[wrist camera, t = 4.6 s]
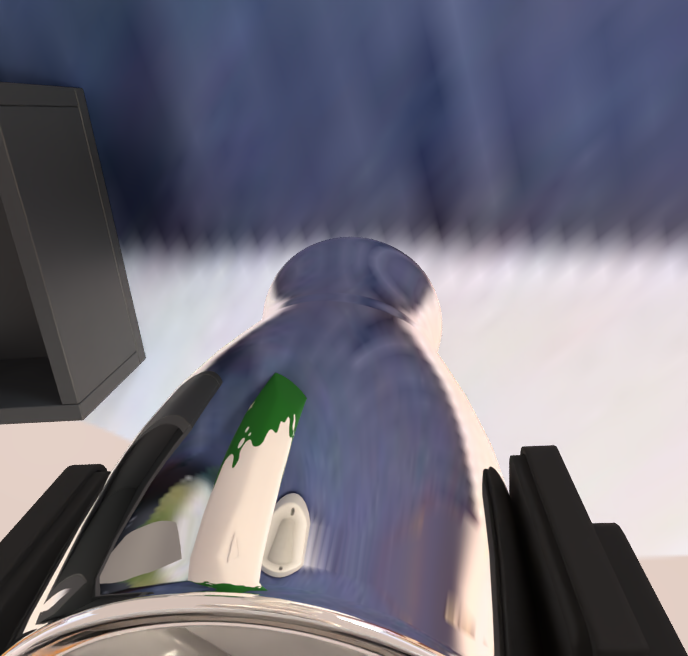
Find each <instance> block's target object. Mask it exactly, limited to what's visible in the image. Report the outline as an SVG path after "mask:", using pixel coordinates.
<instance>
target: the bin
mask: <svg viewBox="0 0 688 656" xmlns="http://www.w3.org/2000/svg"><path fill="white" fill-rule="evenodd" d="M145 358H146V357H145V353H144V348H143V344H142V340H141V335H140V331H139V327H138V323H137V318H136V314H135V310H134V306H133V301H132V297H131V293H130V288H129V284H128V280H127V276H126V271H125V267H124V263H123V259H122V254H121V250H120V246H119V241H118V237H117V233H116V229H115V224H114V220H113V216H112V212H111V207H110V203H109V199H108V194H107V190H106V186H105V182H104V177H103V173H102V169H101V165H100V160H99V156H98V152H97V147H96V143H95V139H94V135H93V130H92V126H91V122H90V118H89V113H88V109H87V105H86V100H85V96H84V92H83V89H82V88H73V87H61V86H48V85H35V84H22V83H9V82H0V424H18V423H37V422H55V421H76V420H84V419H85V418H86V417H87V416H88V415H89V414H90V413H91V412H92V411H93V410H94V409H95V408H96V407H97V406H98V405H99V404H100V403H101V402H102V401H103V400H104V399H105V398H106V397H107V396H108V395H109V394H110V393H111V392H112V391H113V390H114V389H115V388H116V387H117V386H118V385H119V384H120V383H121V382H122V381H124V380H125V379H126V378H127V377H128V376H129V375H130V374H131V373H132V372H133V371H134V370H135V369H136V368H137V367H138V366H139V364H141V363H142V362H143V361H144V360H145Z"/></svg>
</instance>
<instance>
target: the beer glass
mask: <svg viewBox="0 0 688 656" xmlns="http://www.w3.org/2000/svg"><path fill="white" fill-rule="evenodd" d="M441 336H442V313H441V308H440V303H439V300H438V297H437V294H436V292H435V289H434V287H433V285H432V283H431V281H430V280H429V278H428V277H427V275H426V274H425V272H424V271H423V270H422V269H421V268H420V267H419V265H418V264H417V263H415V262H414V261H413V260H412V259H411V258H410V257H408V256H407V255H406V254H404V253H403V252H401V251H400V250H398V249H396V248H394V247H392V246H390V245H388V244H385V243H383V242H380V241H377V240H373V239H368V238H361V237H340V238H333V239H328V240H325V241H321V242H318V243H316V244H313V245H311V246H309V247H307V248H305V249H303V250H302V251H300V252H299V253H297V254H296V255H295V256H293V257H292V258H291V259H290V260H289V261H288V262H287V263H286V264H285V265H284V266H283V267H282V268H281V269H280V271H279V272H278V273H277V275H276V276H275V278H274V280H273V282H272V284H271V286H270V288H269V291H268V293H267V296H266V300H265V303H264V309H263V316H262V320H260V321H259V322H258V323H256V324H255V325H253V326H252V327H250V328H249V329H247V330H246V331H245V332H243V333H242V334H240V335H239V336H238V337H236V338H235V339H233V340H232V341H231V342H229V343H228V344H226V345H225V346H224V347H222V348H221V349H220V350H218V351H217V352H216V353H215V354H214V355H213V356H211V357H210V358H209V359H208V360H207V361H206V362H205V363H203V364H202V365H201V366H200V367H199V368H198V369H197V370H196V371H194V372H193V373H192V374H191V375H190V376H189V377H188V378H186V379H185V380H184V381H183V382H182V383H181V384H180V385H179V386H178V387H177V388H176V389H175V390H174V391H173V393H172V394H171V395H170V396H169V397H168V398H167V400H166V401H165V402H164V403H163V404H162V406H161V407H160V408H159V409H158V410H157V412H156V413H155V414H154V415H153V416H152V417H151V419H150V420H149V421H148V422H147V423H146V425H145V426H144V427H143V428H142V429H141V431H140V432H139V433H138V434H137V436H136V437H135V438H134V439H133V441H132V442H131V444H130V445H129V447H128V448H127V450H126V451H125V452H124V454H123V455H122V457H121V458H120V460H119V461H118V462H117V464H116V465H115V467H114V468H113V470H112V471H111V472H110V474H109V475H108V477H107V478H106V480H105V481H104V483H103V484H102V485H101V487H100V488H99V490H98V491H97V493H96V494H95V495H94V497H93V499H92V500H91V502H90V504H89V505H88V507H87V508H86V510H85V512H84V513H83V515H82V517H81V518H80V520H79V521H78V523H77V525H76V526H75V528H74V529H73V531H72V533H71V534H70V536H69V538H68V539H67V541H66V542H65V544H64V546H63V547H62V549H61V551H60V552H59V554H58V556H57V557H56V559H55V561H54V562H53V564H52V566H51V567H50V569H49V571H48V573H47V574H46V576H45V578H44V579H43V581H42V583H41V585H40V586H39V588H38V590H37V591H36V593H35V595H34V596H33V598H32V600H31V602H30V603H29V605H28V607H27V608H26V610H25V612H24V613H23V615H22V617H21V618H20V620H19V622H18V623H17V625H16V627H15V628H14V630H13V631H12V633H11V635H10V636H9V638H8V640H7V641H6V643H5V644H4V646H3V648H2V649H1V651H0V656H545V653H544V647H543V642H542V637H541V631H540V626H539V621H538V615H537V610H536V604H535V599H534V594H533V588H532V583H531V578H530V574H529V569H528V565H527V561H526V557H525V553H524V549H523V545H522V540H521V536H520V532H519V528H518V524H517V520H516V516H515V512H514V508H513V505H512V502H511V499H510V496H509V493H508V490H507V487H506V484H505V481H504V478H503V476H502V473H501V470H500V467H499V464H498V461H497V458H496V455H495V452H494V450H493V447H492V445H491V443H490V441H489V438H488V437H487V435H486V433H485V431H484V429H483V427H482V425H481V423H480V421H479V419H478V417H477V415H476V413H475V411H474V410H473V408H472V406H471V404H470V402H469V400H468V398H467V396H466V395H465V393H464V391H463V390H462V388H461V387H460V385H459V384H458V382H457V381H456V379H455V378H454V376H453V375H452V373H451V372H450V370H449V369H448V367H447V366H446V364H445V363H444V361H443V360H442V358H441V357H440V355H439V354H438V350H439V346H440V342H441Z"/></svg>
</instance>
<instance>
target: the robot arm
mask: <svg viewBox="0 0 688 656" xmlns="http://www.w3.org/2000/svg"><path fill="white" fill-rule="evenodd" d="M109 474H110V471H107V469H106V468H105V467H104V465H101V464H91V465H90V464H88V465H72V466H69V467H67V468H66V469H65V470H64V471H63V472H62V474H61V475H60V476H59V477H58V478H57V479H56V480H55V482H54V483H53V484H52V485H51V486H50V487H49V488H48V489H47V491H46V492H45V493H44V494H43V495H42V496H41V497H40V498H39V499H38V501H37V502H36V503H35V504H34V505H33V506H32V507H31V509H30V510H29V511H28V512H27V513H26V514H25V515H24V516H23V517H22V519H21V520H20V521H19V522H18V523H17V524H16V525H15V526H14V528H13V529H12V530H11V531H10V532H9V533H8V534H7V535H6V537H5V538H4V539H3V540H2V541H1V542H0V651H1V649H2V648H3V646H4V644H5V643H6V641H7V640H8V638H9V636H10V635H11V633H12V631H13V630H14V628H15V627H16V625H17V623H18V622H19V620H20V618H21V617H22V615H23V613H24V612H25V610H26V608H27V607H28V605H29V603H30V602H31V600H32V598H33V596H34V595H35V593H36V591H37V590H38V588H39V586H40V585H41V583H42V581H43V579H44V578H45V576H46V574H47V573H48V571H49V569H50V567H51V566H52V564H53V562H54V561H55V559H56V557H57V556H58V554H59V552H60V551H61V549H62V547H63V546H64V544H65V542H66V541H67V539H68V538H69V536H70V534H71V533H72V531H73V529H74V528H75V526H76V525H77V523H78V521H79V520H80V518H81V517H82V515H83V513H84V512H85V510H86V508H87V507H88V505H89V504H90V502H91V500H92V499H93V497H94V495H95V494H96V493H97V491H98V490H99V488H100V487H101V485H102V484H103V483H104V481H105V480H106V478H107V477H108V475H109ZM509 496H510V499H511V502H512V505H513V508H514V512H515V516H516V520H517V524H518V528H519V532H520V536H521V540H522V545H523V549H524V553H525V557H526V561H527V565H528V569H529V574H530V578H531V583H532V588H533V594H534V599H535V604H536V610H537V615H538V621H539V626H540V631H541V637H542V642H543V647H544V653H545V656H688V655H687V653H686V651H685V649H684V647H683V645H682V643H681V642H680V640H679V638H678V636H677V634H676V632H675V630H674V628H673V626H672V624H671V622H670V621H669V618H668V616H667V615H666V613H665V611H664V609H663V607H662V605H661V603H660V601H659V599H658V597H657V595H656V594H655V592H654V590H653V588H652V586H651V584H650V582H649V580H648V578H647V577H646V575H645V573H644V571H643V569H642V567H641V565H640V563H639V561H638V559H637V557H636V555H635V553H634V552H633V550H632V548H631V546H630V544H629V542H628V540H627V538H626V536H625V534H624V533H623V531H622V529H621V528H620V526H619V525H617V524H616V523H592V522H591V520H590V518H589V516H588V514H587V512H586V509H585V507H584V505H583V503H582V501H581V498H580V496H579V494H578V492H577V490H576V488H575V485H574V483H573V481H572V479H571V477H570V475H569V472H568V470H567V468H566V466H565V464H564V462H563V459H562V457H561V455H560V453H559V451H558V449H557V447H556V446H554V445H550V446H526V447H522V448H521V453H520V455H513V456H510V461H509Z"/></svg>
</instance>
